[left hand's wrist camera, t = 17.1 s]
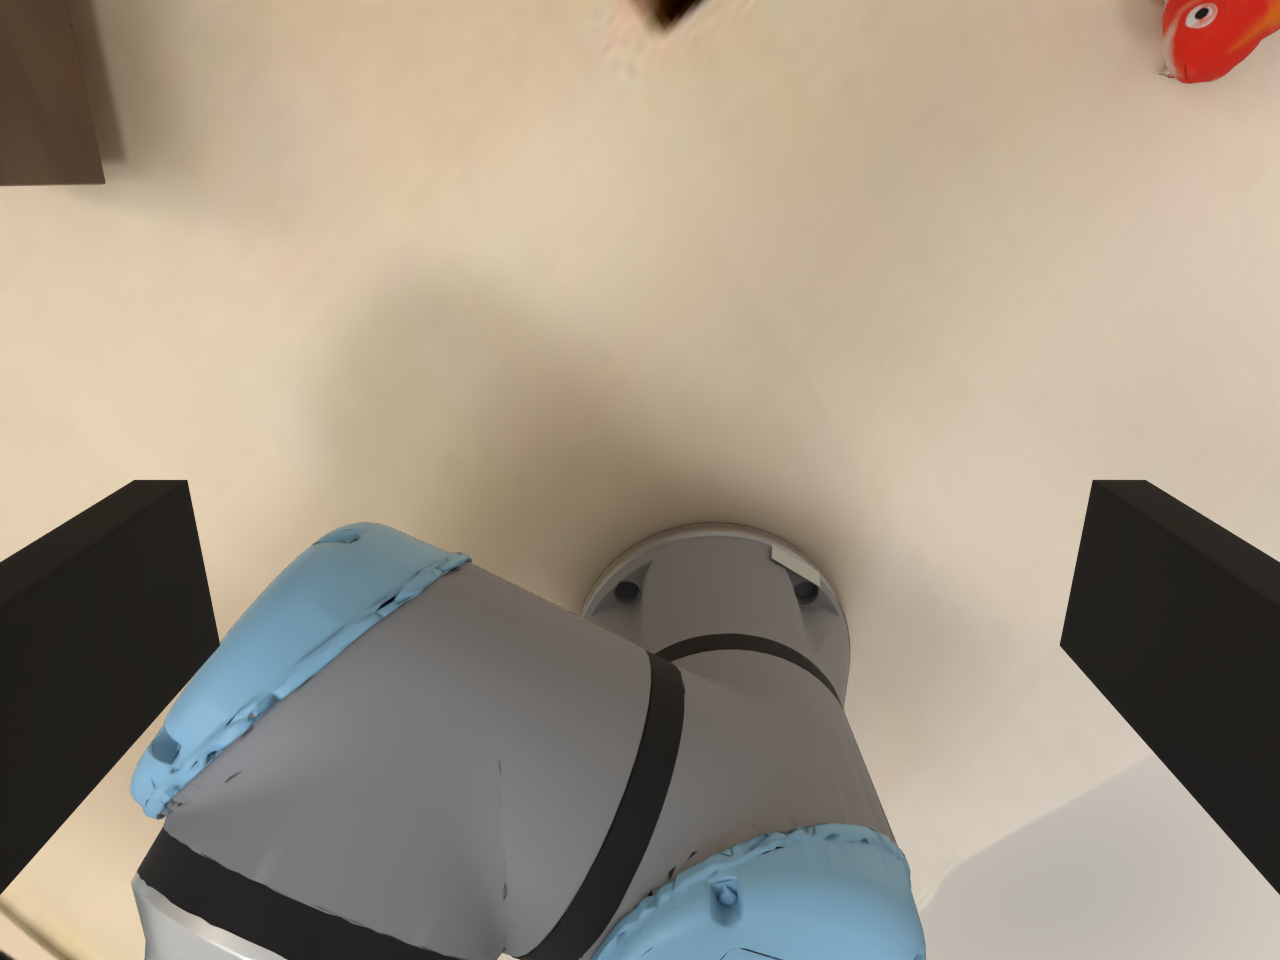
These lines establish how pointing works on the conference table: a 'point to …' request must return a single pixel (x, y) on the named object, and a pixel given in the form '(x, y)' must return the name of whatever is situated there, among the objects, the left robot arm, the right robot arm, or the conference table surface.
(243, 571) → the conference table surface
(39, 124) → the walnut beam
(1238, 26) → the fish
